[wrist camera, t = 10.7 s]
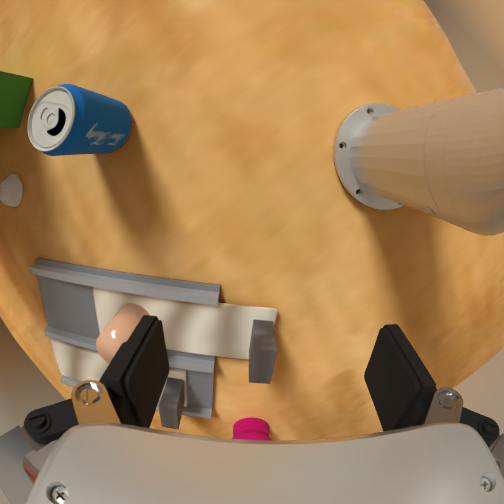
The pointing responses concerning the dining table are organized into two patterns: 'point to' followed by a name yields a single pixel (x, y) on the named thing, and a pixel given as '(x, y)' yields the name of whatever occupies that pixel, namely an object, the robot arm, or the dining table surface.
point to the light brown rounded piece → (119, 330)
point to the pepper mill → (251, 429)
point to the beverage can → (77, 122)
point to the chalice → (11, 191)
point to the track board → (85, 278)
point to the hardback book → (13, 98)
